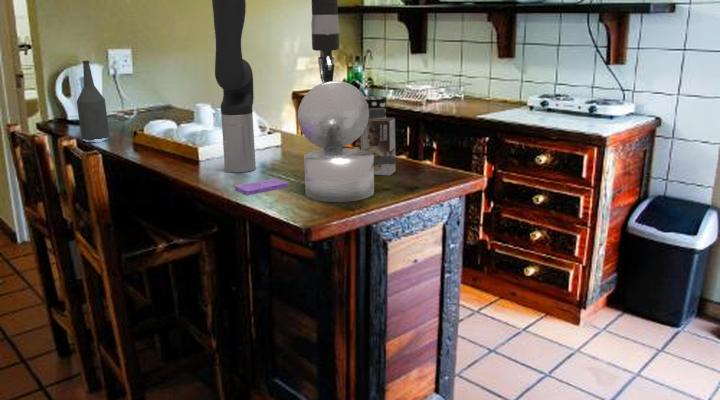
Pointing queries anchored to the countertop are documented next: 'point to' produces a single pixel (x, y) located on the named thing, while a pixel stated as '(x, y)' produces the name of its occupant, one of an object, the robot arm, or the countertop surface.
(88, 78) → the bottle
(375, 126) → the coffee box
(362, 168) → the pot
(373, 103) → the white-spotted black cylinder
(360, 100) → the lid
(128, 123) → the countertop surface
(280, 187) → the sponges
